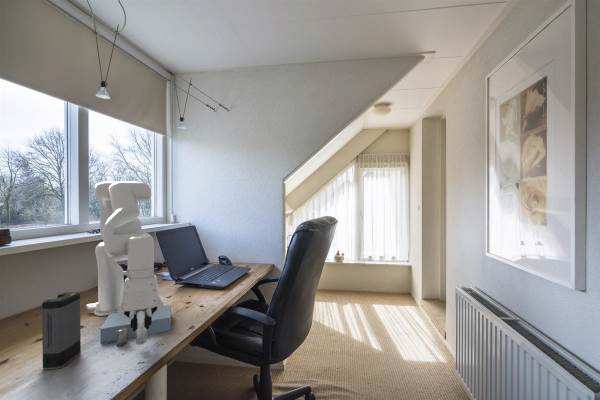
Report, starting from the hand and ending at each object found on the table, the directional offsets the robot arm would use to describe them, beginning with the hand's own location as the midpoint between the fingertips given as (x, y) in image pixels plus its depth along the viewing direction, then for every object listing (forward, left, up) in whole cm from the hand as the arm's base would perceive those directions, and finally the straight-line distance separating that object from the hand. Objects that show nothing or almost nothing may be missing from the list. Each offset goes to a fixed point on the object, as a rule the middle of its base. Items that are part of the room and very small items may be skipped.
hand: (141, 327), depth 91 cm
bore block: (-3, +18, -7) cm, 20 cm away
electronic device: (-22, +3, -8) cm, 23 cm away
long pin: (0, 0, -5) cm, 5 cm away
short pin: (-7, +7, -7) cm, 13 cm away
